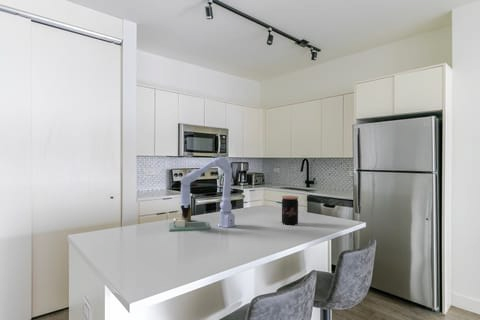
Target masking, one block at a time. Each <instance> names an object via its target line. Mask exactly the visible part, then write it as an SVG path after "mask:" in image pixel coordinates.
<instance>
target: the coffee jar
mask: <svg viewBox="0 0 480 320" xmlns="http://www.w3.org/2000/svg"><path fill="white" fill-rule="evenodd" d="M281 198H282V199H281V223H282V225H284V224H285V226H297V225H298V223H299V200H298V199H299V197H298V196H297V195H283V196H281Z"/></svg>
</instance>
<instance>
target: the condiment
mask: <svg viewBox="0 0 480 320" xmlns="http://www.w3.org/2000/svg"><path fill="white" fill-rule="evenodd" d="M189 205H190V209H189V212H188V220H187V222H195V219H192V208H191V203H190V204H189ZM181 218H183V211H182V210H181Z"/></svg>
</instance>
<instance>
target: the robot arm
mask: <svg viewBox="0 0 480 320" xmlns="http://www.w3.org/2000/svg"><path fill="white" fill-rule="evenodd" d="M217 167H218V168H220V169H221V170H222V171H223V172H224V173H223V174H224V175H223V185H222V186H223V187H222V197H221V201H220V203H219V207H220V210H219V223H218V224H216V225H217V226H218V227H219V226H220V227H223V228H226V229H227V228H231V227H235V226H236V224H235V221H236V220H235V219H236V217H235V214H234V213H233V212H232V207H233V206H232V203H231V201H232V200H231V193H232V191H231V190H232V179H233V177H232V176H233V169H232V166H231V164H230V163H229V160H227V158H226V157H224V156H222V157H220V156H218V157H216V158H214V159H213V160H211V161H209V162H207V163H206V164H205V165H203V166H202V167H200V168H198V169H197V168H195V169H194V168H193V169H192V170H191V171H190V172H189V173H186V174H185V176H182V177H181V178H180V183H181V184H180V202H178V204H179V205H180V210H181V212H182V211H183V217H184V218H187V217H188V212H189V209H190V207H191V184H192V183H193V182H195V181H197V180H198V179H199V178H200V177H201V178H202V174H203V173H205V172H206V171H209V170H210V169H212V168H217ZM189 204H190V205H189Z"/></svg>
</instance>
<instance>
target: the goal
mask: <svg viewBox="0 0 480 320" xmlns="http://www.w3.org/2000/svg"><path fill="white" fill-rule="evenodd" d="M179 219H182V220H179ZM173 223H174V228H176V227H185V220H183V218H182V217H174V218H173Z"/></svg>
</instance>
